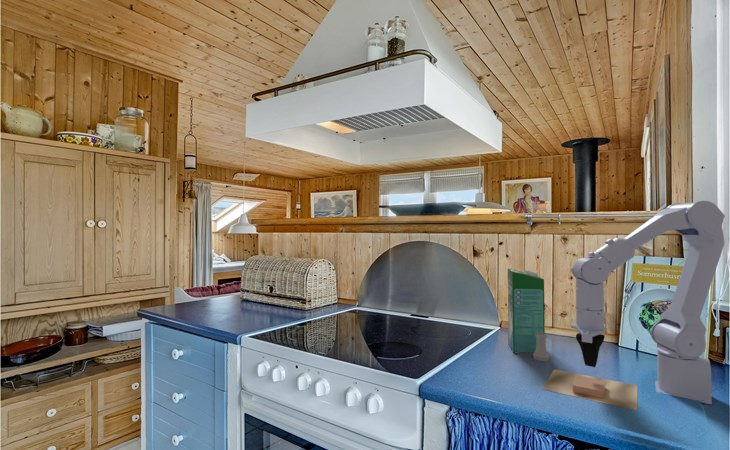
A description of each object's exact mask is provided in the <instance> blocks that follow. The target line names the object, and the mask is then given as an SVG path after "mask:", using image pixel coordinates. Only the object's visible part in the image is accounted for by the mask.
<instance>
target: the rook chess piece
mask: <svg viewBox="0 0 730 450" xmlns="http://www.w3.org/2000/svg"><path fill="white" fill-rule="evenodd" d="M535 337H536V338H537V339H536V350H535V352H532V353H533V354H532V355H533V359H534V360H537V361H539V362H548V361H550V354H549V352H548V351H547V344H546V343H547V337H548V336H547V332H545V333H544V332H542V333H541V332H540V331H539V333H538V332H536V335H535Z"/></svg>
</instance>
